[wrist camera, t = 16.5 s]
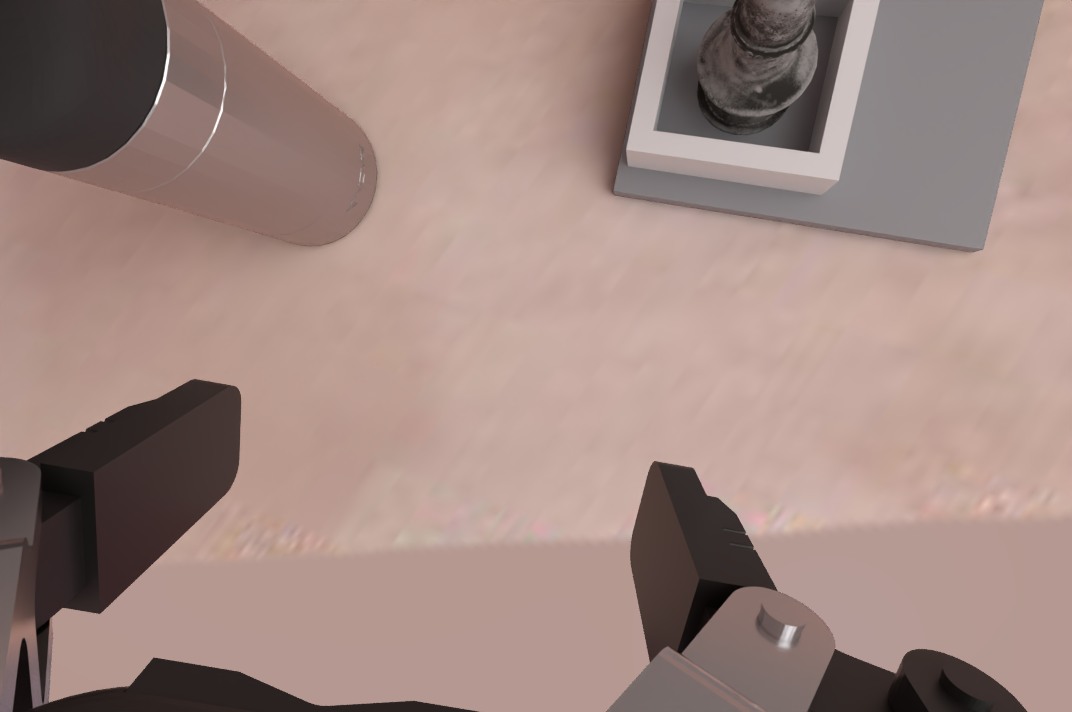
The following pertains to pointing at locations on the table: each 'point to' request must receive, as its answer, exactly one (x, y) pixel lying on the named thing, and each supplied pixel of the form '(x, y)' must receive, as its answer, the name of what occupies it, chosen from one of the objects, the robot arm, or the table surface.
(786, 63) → the salt shaker
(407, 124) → the table surface
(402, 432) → the table surface
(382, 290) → the table surface
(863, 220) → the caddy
